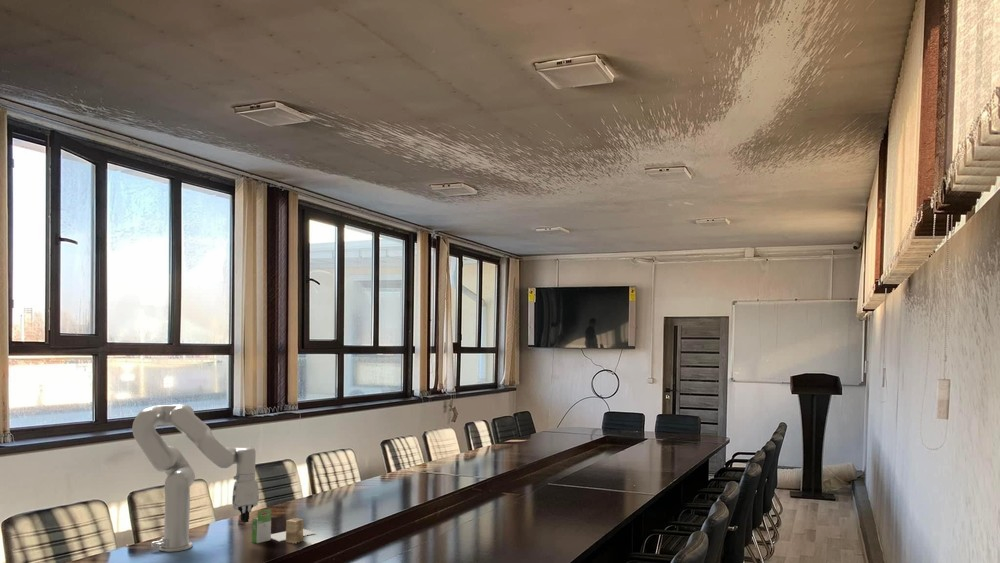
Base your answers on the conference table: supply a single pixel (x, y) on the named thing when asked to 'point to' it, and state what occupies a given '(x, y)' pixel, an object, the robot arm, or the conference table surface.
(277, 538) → the felt mat
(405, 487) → the conference table surface
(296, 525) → the oak block
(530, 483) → the conference table surface
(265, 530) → the ink box
